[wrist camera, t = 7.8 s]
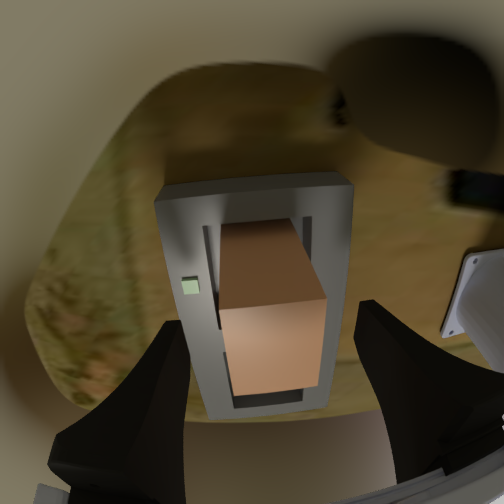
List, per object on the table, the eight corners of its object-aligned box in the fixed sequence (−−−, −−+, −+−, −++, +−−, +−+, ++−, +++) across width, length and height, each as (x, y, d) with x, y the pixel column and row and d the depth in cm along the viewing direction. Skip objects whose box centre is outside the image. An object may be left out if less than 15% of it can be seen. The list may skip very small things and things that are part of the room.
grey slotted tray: (336, 171, 16) (355, 186, 14) (320, 382, 24) (327, 408, 22) (163, 185, 16) (152, 203, 13) (209, 394, 24) (209, 421, 21)
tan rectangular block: (289, 218, 17) (327, 298, 10) (290, 293, 19) (317, 385, 13) (220, 224, 16) (219, 309, 10) (229, 299, 19) (234, 395, 13)
